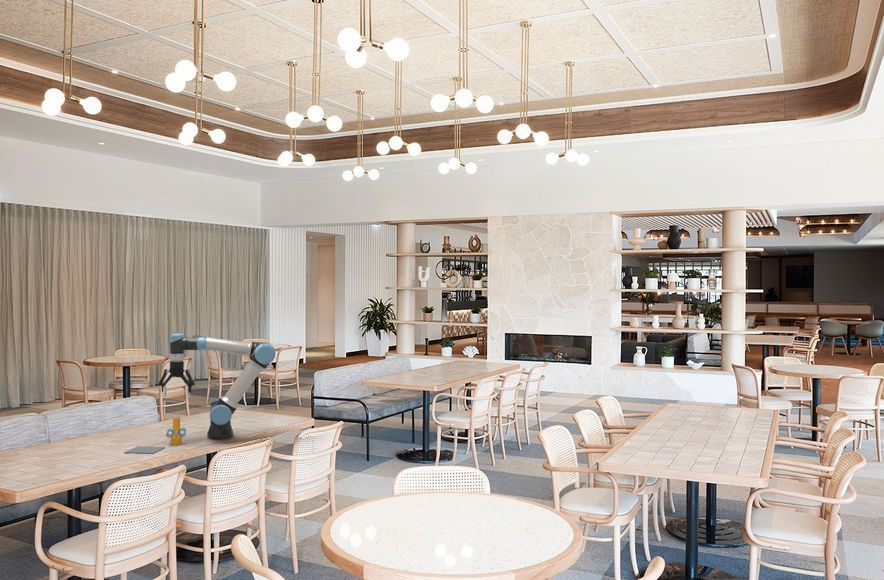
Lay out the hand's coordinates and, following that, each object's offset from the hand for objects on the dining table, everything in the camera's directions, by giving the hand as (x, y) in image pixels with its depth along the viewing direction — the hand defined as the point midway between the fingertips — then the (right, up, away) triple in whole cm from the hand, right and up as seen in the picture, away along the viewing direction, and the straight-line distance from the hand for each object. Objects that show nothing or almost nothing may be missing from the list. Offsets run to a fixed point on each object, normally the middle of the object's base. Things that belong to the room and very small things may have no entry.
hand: (176, 398), depth 401 cm
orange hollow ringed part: (0, -27, 0) cm, 27 cm away
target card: (-11, -26, -17) cm, 33 cm away
